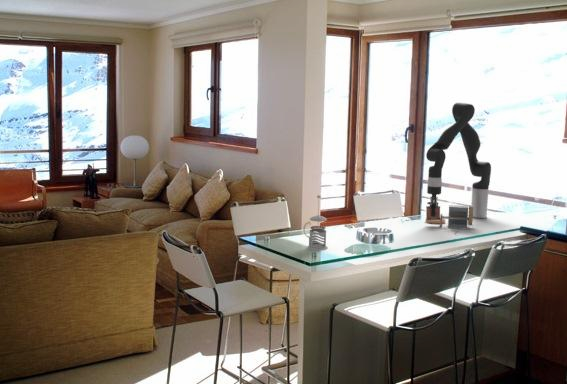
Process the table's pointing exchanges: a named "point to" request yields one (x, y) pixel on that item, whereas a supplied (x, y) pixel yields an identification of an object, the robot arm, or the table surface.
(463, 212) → the grey box
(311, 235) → the french press
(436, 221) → the coaster
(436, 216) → the lighter
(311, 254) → the table surface
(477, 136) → the robot arm
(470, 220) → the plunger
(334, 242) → the table surface
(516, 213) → the table surface
